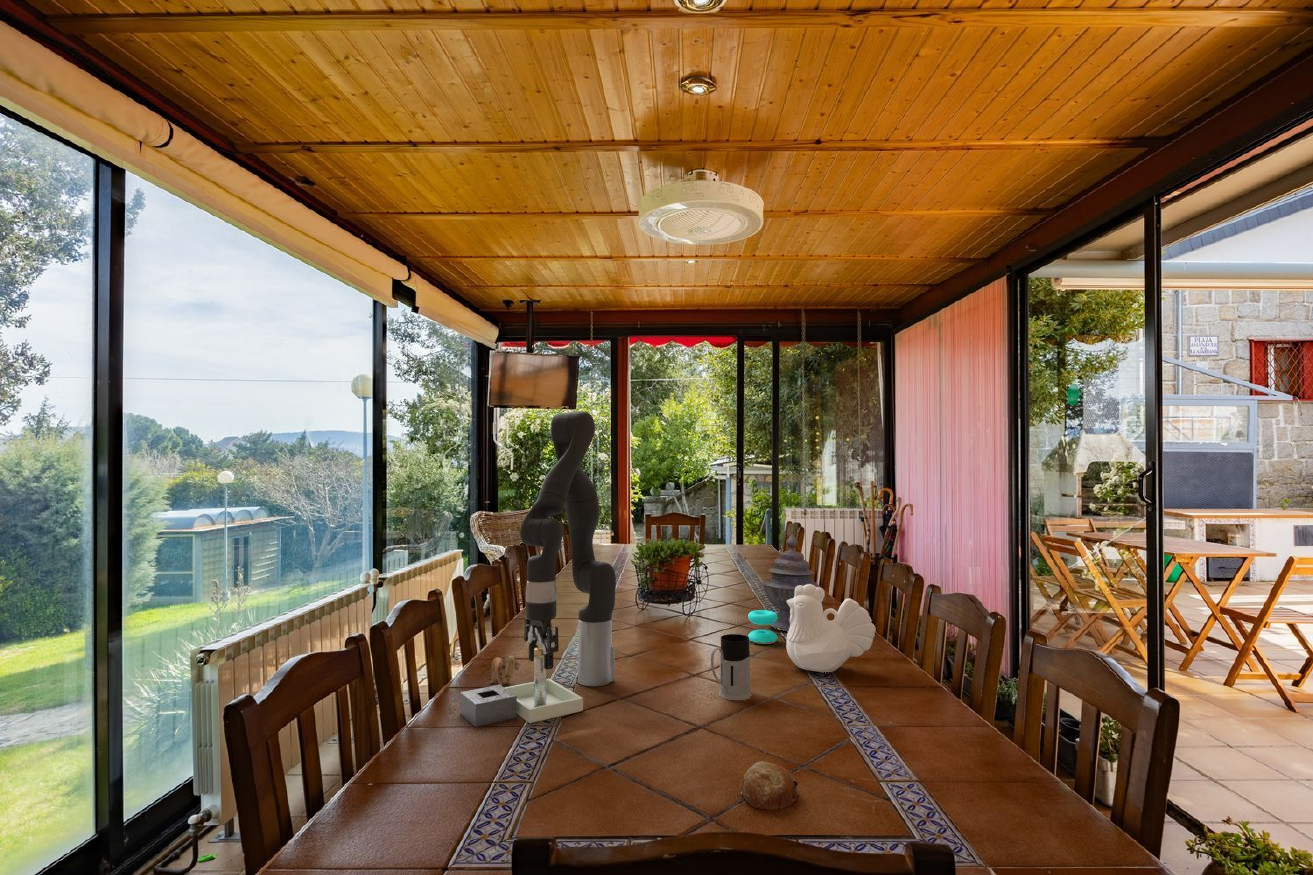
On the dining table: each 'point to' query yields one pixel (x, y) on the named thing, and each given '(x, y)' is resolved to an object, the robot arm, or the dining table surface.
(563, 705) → the tray
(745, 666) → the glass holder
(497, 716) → the block
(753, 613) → the donuts
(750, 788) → the bread roll
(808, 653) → the decorative rooster
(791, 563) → the decorative urn
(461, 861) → the dining table surface
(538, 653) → the steel pin
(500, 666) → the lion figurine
